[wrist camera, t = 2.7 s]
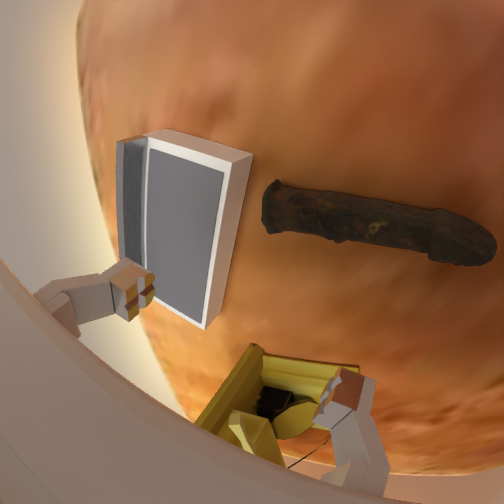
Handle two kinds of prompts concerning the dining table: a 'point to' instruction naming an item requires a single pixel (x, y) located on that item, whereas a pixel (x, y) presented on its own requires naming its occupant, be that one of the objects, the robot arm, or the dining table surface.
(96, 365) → the robot arm
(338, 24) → the dining table surface
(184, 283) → the grey open box
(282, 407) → the vintage telephone
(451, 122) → the dining table surface
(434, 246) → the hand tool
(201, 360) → the dining table surface
